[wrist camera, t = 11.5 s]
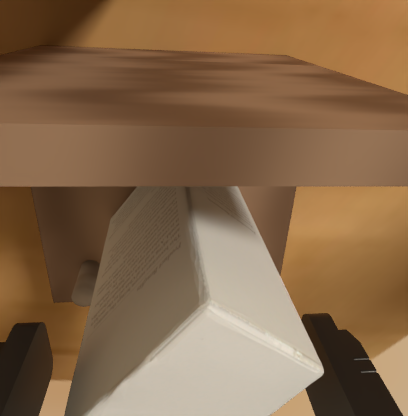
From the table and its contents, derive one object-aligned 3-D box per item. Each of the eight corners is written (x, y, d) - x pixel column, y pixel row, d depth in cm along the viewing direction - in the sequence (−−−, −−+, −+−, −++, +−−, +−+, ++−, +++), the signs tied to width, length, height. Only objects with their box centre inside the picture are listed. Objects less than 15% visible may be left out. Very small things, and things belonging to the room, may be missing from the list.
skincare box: (171, 255, 21) (179, 491, 11) (109, 217, 20) (47, 450, 9) (241, 181, 19) (333, 377, 9) (179, 132, 18) (202, 300, 7)
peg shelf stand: (286, 55, 21) (522, 132, 7) (258, 251, 28) (355, 489, 14) (39, 45, 20) (-260, 119, 6) (71, 254, 26) (-33, 527, 12)
